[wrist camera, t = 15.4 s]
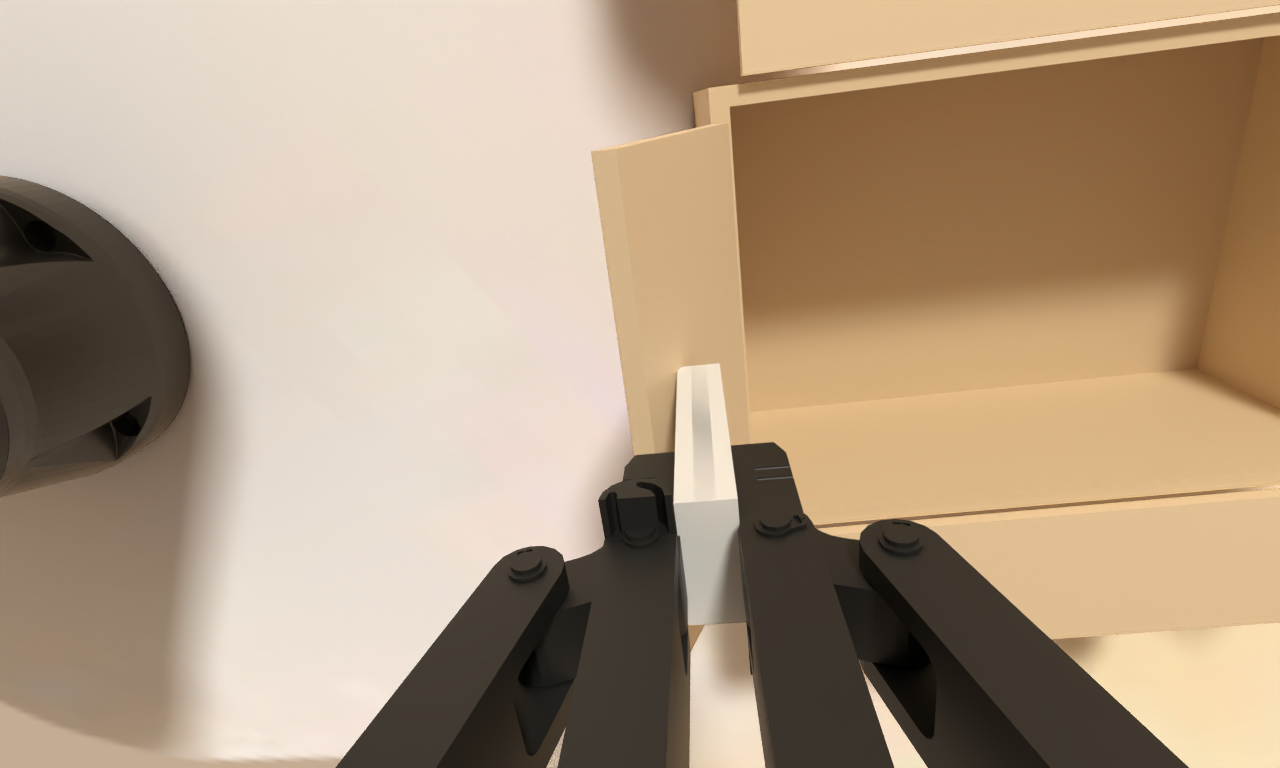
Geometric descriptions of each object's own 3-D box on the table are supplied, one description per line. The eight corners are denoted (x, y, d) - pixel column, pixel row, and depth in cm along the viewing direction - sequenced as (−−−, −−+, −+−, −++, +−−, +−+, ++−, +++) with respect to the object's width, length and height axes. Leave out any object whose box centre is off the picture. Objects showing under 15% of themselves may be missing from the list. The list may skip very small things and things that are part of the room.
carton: (728, 519, 38) (752, 661, 28) (678, -74, 27) (689, -170, 18) (1178, 480, 36) (1366, 616, 27) (1312, -168, 26) (1705, -331, 16)
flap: (739, 525, 25) (663, 662, 19) (708, 124, 20) (591, 151, 14) (755, 528, 25) (682, 666, 19) (728, 122, 20) (616, 149, 14)
